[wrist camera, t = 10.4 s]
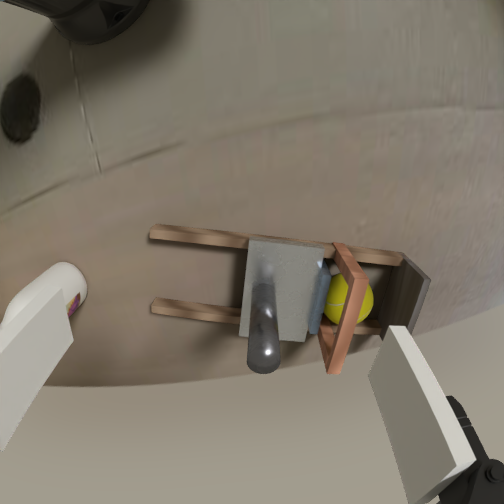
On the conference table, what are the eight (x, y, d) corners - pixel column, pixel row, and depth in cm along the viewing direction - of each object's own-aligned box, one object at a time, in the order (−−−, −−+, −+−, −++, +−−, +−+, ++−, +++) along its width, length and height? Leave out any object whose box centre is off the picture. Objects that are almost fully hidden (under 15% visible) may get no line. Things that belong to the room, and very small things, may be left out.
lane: (156, 305, 46) (131, 350, 35) (155, 222, 41) (122, 252, 31) (380, 327, 46) (404, 373, 35) (403, 251, 41) (439, 286, 31)
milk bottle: (44, 267, 44) (-33, 330, 25) (75, 254, 43) (-7, 321, 24) (65, 307, 47) (-1, 379, 28) (96, 297, 46) (29, 377, 27)
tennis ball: (308, 282, 43) (315, 308, 37) (350, 254, 42) (364, 276, 35) (332, 316, 45) (342, 344, 39) (372, 291, 44) (388, 316, 37)
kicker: (240, 320, 45) (230, 407, 30) (250, 230, 41) (242, 292, 25) (308, 326, 45) (325, 412, 30) (326, 239, 41) (363, 304, 25)
